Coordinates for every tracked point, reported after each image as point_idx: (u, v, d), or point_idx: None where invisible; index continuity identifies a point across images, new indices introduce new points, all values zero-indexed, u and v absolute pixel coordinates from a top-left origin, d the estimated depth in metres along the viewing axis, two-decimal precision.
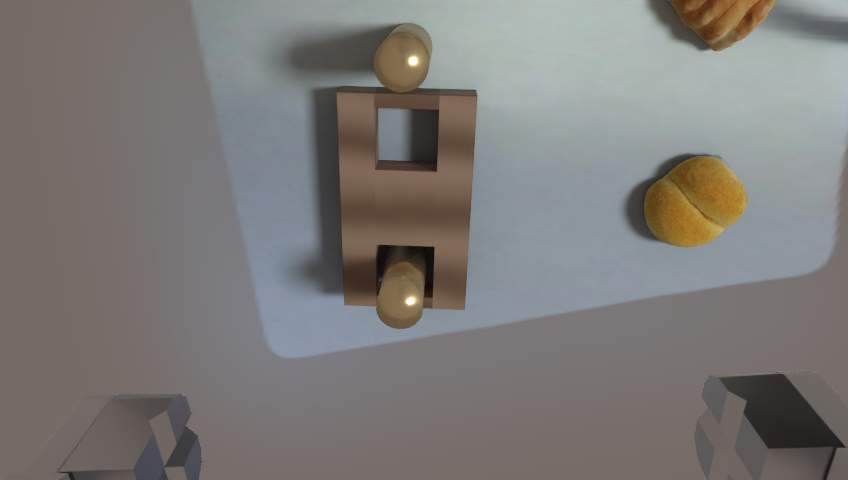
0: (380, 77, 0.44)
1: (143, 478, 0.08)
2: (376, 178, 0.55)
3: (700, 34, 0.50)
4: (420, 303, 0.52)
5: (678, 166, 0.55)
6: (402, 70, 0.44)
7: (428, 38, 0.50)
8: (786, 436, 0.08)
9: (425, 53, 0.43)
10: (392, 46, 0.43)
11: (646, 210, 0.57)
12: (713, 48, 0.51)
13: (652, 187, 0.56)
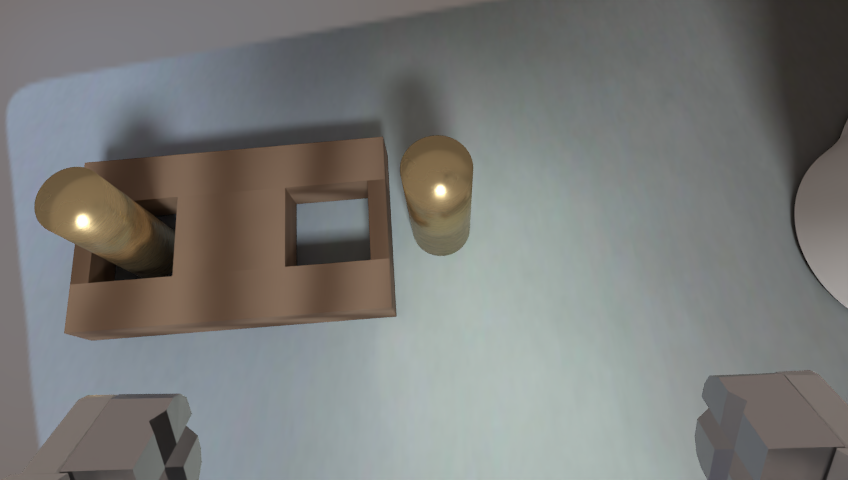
0: (417, 144, 0.33)
1: (143, 478, 0.08)
2: (273, 190, 0.41)
3: None
4: (77, 228, 0.33)
5: None
6: (429, 170, 0.33)
7: (457, 240, 0.40)
8: (786, 436, 0.08)
9: (453, 196, 0.32)
10: (457, 155, 0.33)
11: None
12: None
13: None
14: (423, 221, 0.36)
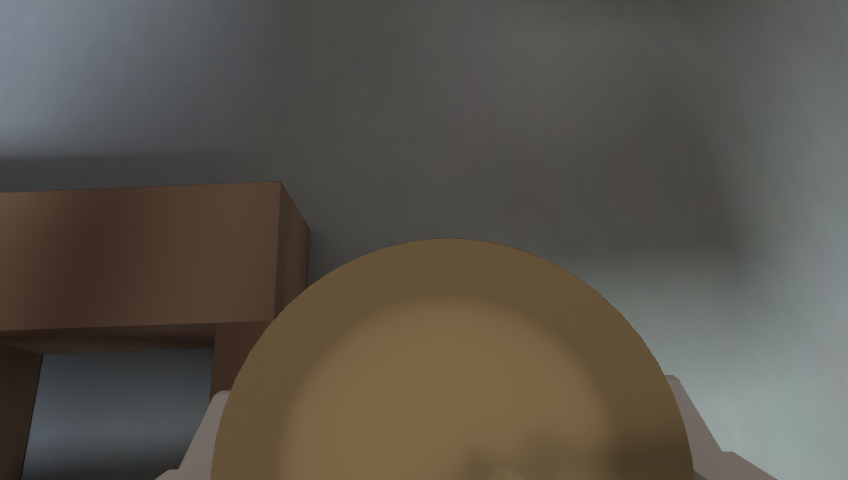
0: (336, 293, 0.06)
1: None
2: None
3: None
4: None
5: None
6: (402, 478, 0.05)
7: None
8: None
9: None
10: (588, 383, 0.05)
11: None
12: None
13: None
14: None
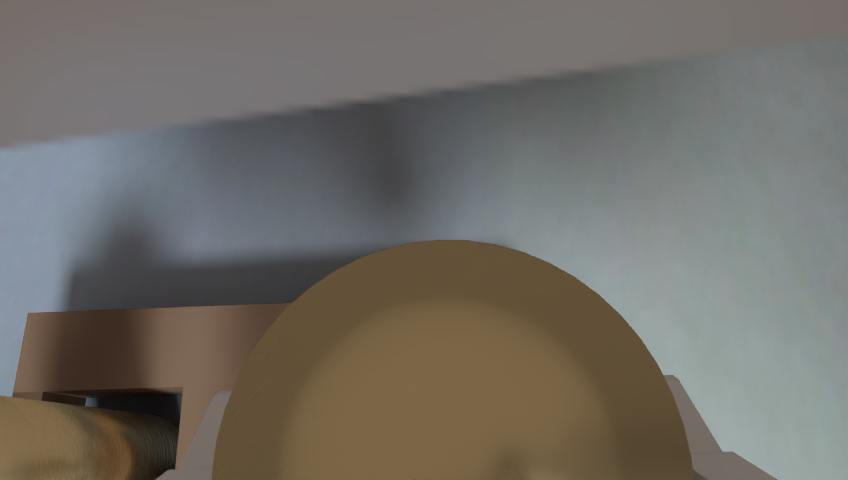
0: (336, 295, 0.06)
1: None
2: None
3: None
4: None
5: None
6: None
7: None
8: None
9: None
10: (588, 384, 0.05)
11: None
12: None
13: None
14: None
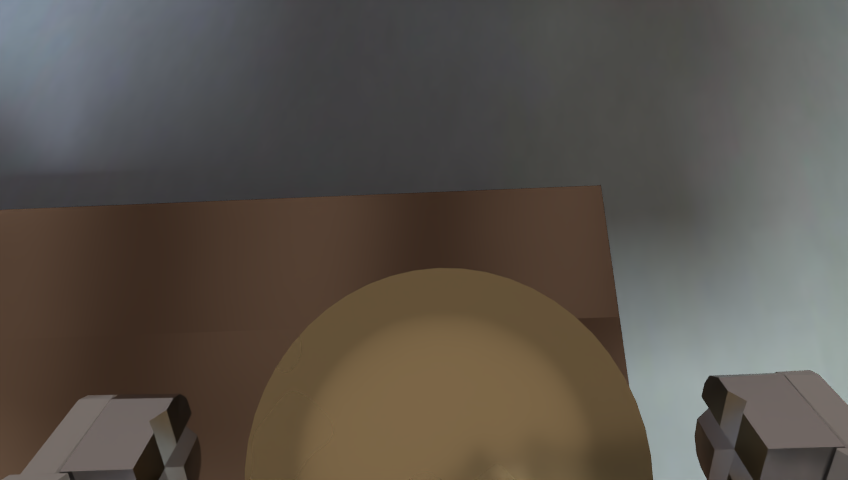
0: (350, 316, 0.06)
1: (143, 478, 0.08)
2: (278, 335, 0.13)
3: None
4: None
5: None
6: (405, 474, 0.06)
7: None
8: (786, 436, 0.08)
9: None
10: (564, 392, 0.06)
11: None
12: None
13: None
14: None
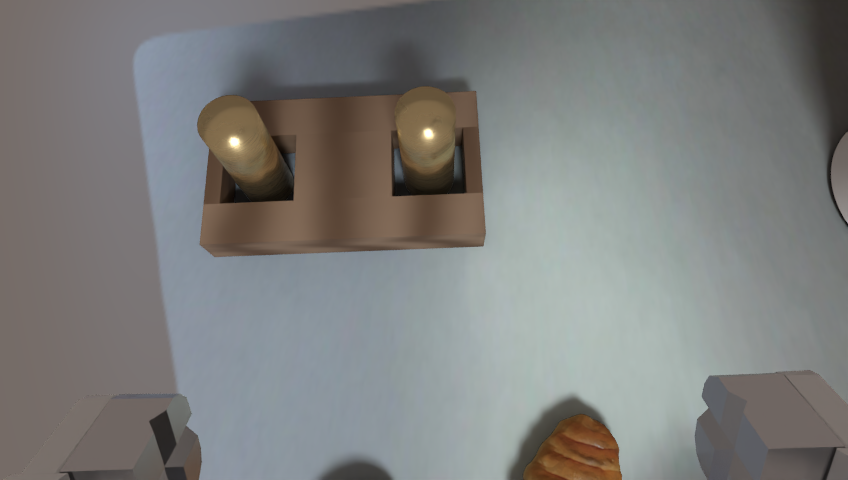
0: (409, 93, 0.40)
1: (143, 478, 0.08)
2: (380, 132, 0.47)
3: None
4: (235, 145, 0.39)
5: None
6: (419, 114, 0.39)
7: (442, 185, 0.46)
8: (786, 436, 0.08)
9: (438, 135, 0.39)
10: (443, 103, 0.40)
11: None
12: None
13: None
14: (412, 162, 0.42)
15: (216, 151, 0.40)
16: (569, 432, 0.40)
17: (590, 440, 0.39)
